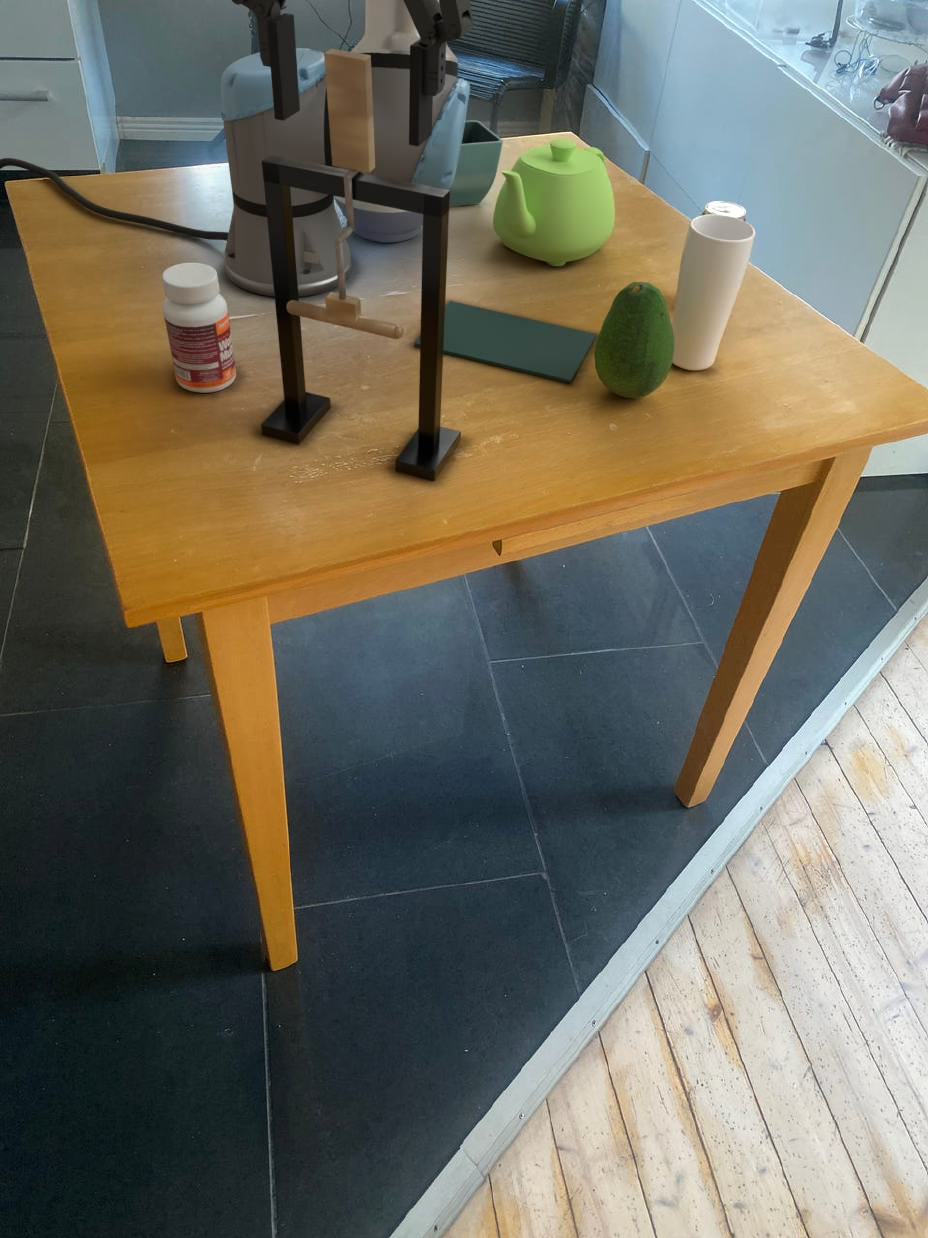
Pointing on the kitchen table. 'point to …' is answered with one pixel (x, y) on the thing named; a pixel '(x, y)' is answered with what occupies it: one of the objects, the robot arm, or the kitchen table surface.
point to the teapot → (556, 203)
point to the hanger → (348, 178)
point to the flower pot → (475, 164)
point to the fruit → (635, 342)
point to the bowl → (382, 221)
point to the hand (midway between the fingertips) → (352, 127)
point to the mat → (514, 342)
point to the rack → (299, 406)
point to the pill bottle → (198, 328)
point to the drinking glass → (708, 286)
